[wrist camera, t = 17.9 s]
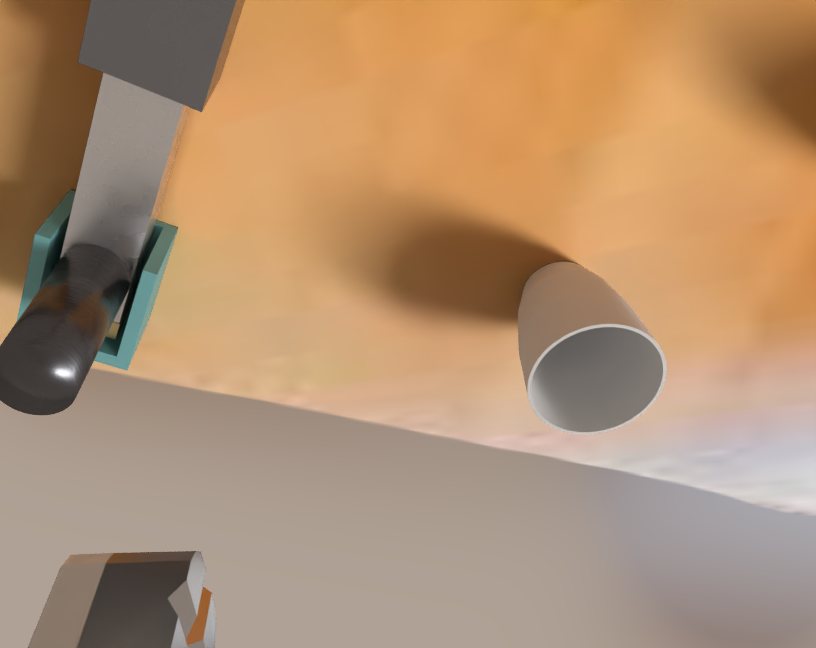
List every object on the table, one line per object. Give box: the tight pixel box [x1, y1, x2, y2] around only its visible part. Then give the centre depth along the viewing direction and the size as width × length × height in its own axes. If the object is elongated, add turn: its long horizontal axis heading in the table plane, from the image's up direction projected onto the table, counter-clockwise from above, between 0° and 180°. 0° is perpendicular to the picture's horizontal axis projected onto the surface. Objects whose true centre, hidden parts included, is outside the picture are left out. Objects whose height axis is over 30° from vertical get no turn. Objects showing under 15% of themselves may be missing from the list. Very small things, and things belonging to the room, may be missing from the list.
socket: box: [17, 189, 178, 370], centre depth 45 cm, size 7×7×6 cm
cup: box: [518, 262, 667, 435], centre depth 47 cm, size 8×8×10 cm
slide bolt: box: [0, 73, 190, 415], centre depth 38 cm, size 17×4×14 cm, turn 155°
